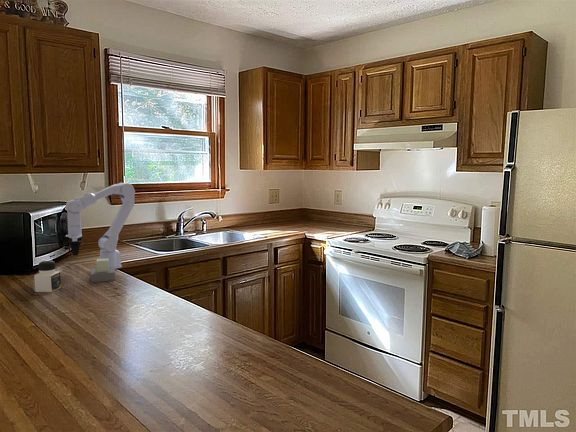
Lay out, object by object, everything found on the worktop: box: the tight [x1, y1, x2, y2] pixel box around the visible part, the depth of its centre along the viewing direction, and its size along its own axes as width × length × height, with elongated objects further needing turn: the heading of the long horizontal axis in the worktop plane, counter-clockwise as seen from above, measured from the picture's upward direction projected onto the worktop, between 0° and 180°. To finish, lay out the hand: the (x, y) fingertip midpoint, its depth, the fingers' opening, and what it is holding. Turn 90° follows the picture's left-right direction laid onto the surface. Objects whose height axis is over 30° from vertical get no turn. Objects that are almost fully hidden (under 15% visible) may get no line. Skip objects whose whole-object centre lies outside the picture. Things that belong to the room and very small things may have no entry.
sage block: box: [96, 258, 109, 272], centre depth 201 cm, size 5×5×5 cm
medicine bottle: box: [33, 260, 62, 293], centre depth 182 cm, size 7×7×12 cm
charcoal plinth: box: [89, 267, 116, 283], centre depth 202 cm, size 10×10×4 cm
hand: (75, 253), depth 209 cm, fingers open, 7 cm apart
